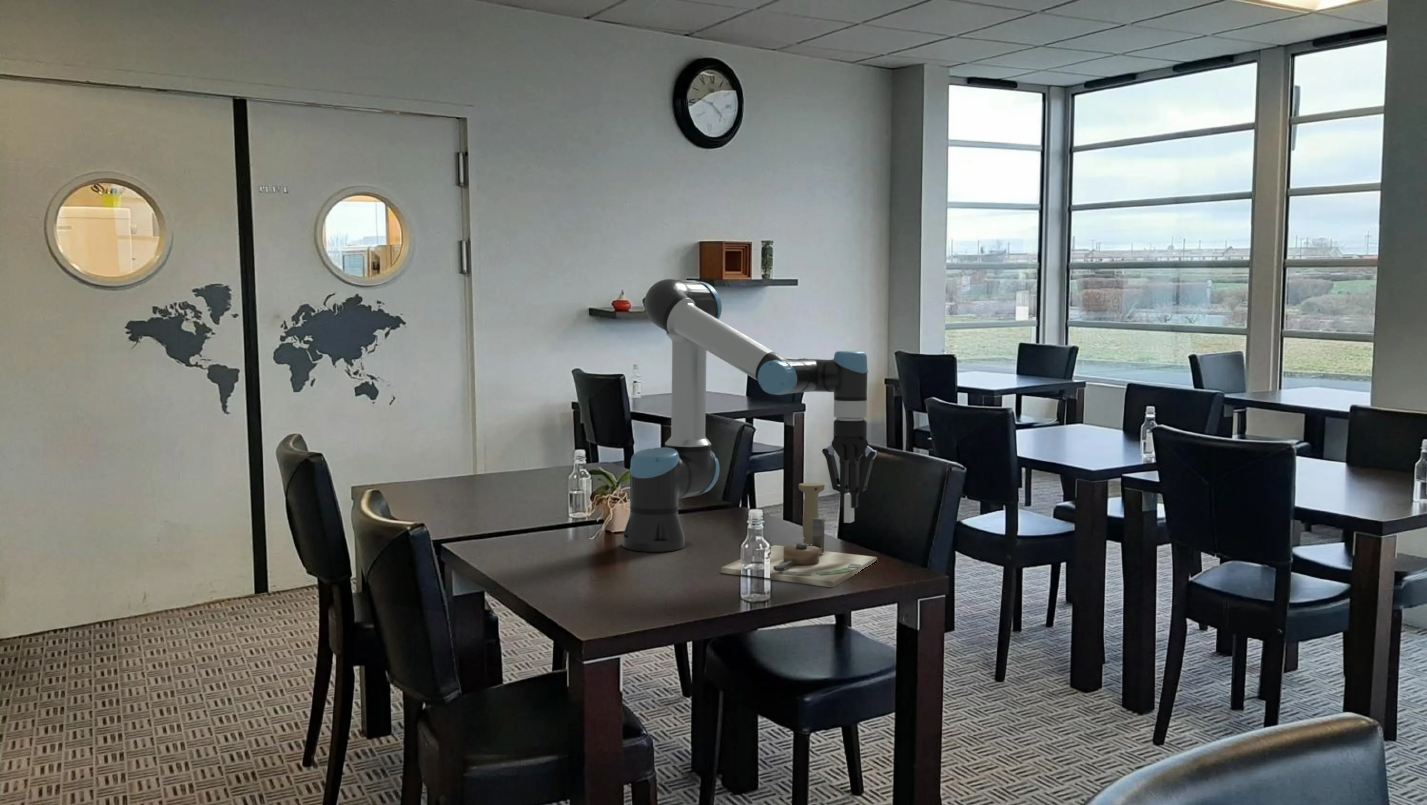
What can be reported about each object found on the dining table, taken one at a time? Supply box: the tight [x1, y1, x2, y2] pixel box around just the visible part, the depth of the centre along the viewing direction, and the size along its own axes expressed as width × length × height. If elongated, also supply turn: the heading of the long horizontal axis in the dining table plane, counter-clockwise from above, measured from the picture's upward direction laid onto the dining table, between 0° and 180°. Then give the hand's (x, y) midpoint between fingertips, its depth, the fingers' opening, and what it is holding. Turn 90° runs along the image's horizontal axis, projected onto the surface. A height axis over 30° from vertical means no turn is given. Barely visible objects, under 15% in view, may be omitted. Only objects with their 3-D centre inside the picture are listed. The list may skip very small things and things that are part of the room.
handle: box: [798, 482, 826, 544], centre depth 274 cm, size 5×6×15 cm
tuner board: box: [720, 544, 878, 588], centre depth 249 cm, size 26×28×1 cm
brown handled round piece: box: [774, 517, 826, 571], centre depth 248 cm, size 25×8×8 cm, turn 153°
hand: (849, 521), depth 254 cm, fingers closed
